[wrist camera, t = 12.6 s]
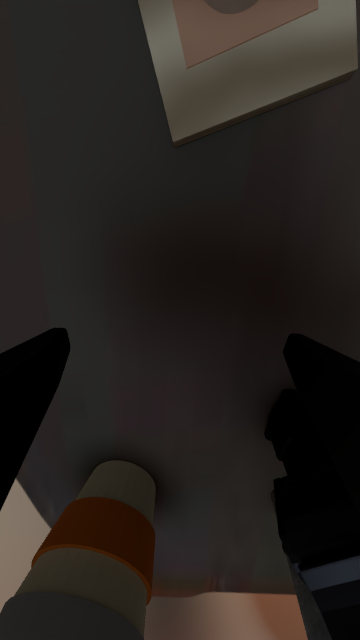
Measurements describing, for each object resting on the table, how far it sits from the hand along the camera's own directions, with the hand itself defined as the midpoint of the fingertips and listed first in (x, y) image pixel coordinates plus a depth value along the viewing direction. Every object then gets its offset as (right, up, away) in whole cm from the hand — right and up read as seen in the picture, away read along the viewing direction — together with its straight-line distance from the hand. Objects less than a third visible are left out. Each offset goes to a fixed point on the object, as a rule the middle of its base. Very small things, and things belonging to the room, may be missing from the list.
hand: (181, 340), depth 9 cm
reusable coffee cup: (-8, -22, +21) cm, 31 cm away
